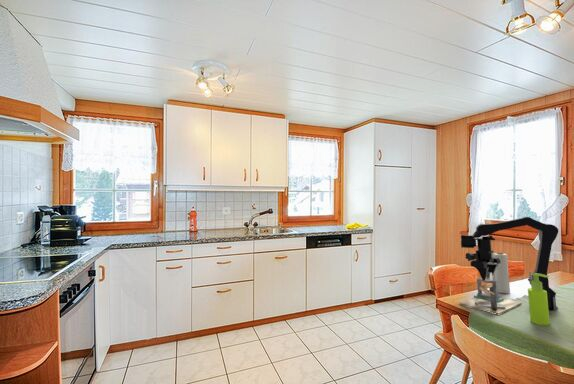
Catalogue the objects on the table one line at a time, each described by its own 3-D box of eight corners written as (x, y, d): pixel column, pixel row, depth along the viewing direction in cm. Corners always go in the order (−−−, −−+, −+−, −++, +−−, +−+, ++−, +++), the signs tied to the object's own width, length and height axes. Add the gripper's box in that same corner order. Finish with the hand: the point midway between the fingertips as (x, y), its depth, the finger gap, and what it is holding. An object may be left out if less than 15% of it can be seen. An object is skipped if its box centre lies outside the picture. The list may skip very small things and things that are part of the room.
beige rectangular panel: (521, 304, 134) (521, 300, 134) (499, 315, 121) (498, 310, 122) (482, 295, 148) (482, 292, 148) (458, 304, 136) (458, 300, 136)
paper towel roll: (512, 294, 149) (508, 254, 151) (499, 293, 151) (495, 254, 153) (506, 290, 156) (503, 252, 158) (493, 289, 158) (490, 252, 160)
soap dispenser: (548, 327, 108) (543, 276, 110) (527, 321, 115) (523, 272, 116) (556, 324, 111) (551, 274, 112) (535, 318, 117) (531, 271, 118)
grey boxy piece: (496, 299, 136) (494, 274, 136) (477, 295, 143) (475, 271, 144) (499, 298, 138) (497, 273, 139) (480, 294, 145) (479, 270, 146)
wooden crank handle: (495, 296, 143) (494, 282, 143) (497, 311, 124) (496, 294, 125) (480, 295, 146) (479, 281, 147) (480, 308, 128) (479, 292, 128)
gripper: (476, 245, 154) (478, 273, 153) (458, 248, 144) (460, 278, 143) (499, 247, 144) (502, 277, 143) (482, 251, 135) (484, 283, 133)
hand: (486, 279), depth 141 cm, fingers open, 7 cm apart
